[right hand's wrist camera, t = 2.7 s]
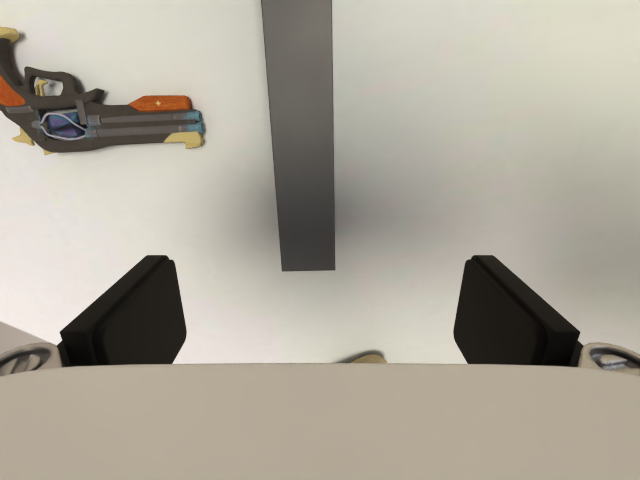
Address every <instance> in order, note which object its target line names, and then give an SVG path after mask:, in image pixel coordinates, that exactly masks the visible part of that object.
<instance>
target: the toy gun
mask: <svg viewBox="0 0 640 480" xmlns="http://www.w3.org/2000/svg"><path fill="white" fill-rule="evenodd" d="M18 38H19V34H18V32H17V30H16V29H13V28H6V27H0V110H1V111H2V112H3V113H4V115H5V116H6V117H7V118H9V119H10V120H12V121H13V122H15V123H16V124H17V125H19V126H20V131H21V134H20V136H17V137H14V138H12V139H13V140H14V141H16V142H22V143H27V144H29V145H33V146H34V145H35V144H34V142H33V140H35V142H36V143H37V144H38V145H39V146H40V147H42V148H43V150H44V154H45V155H47V154H51V153H56V152H57V153H61V152H81V151H90V150H95V149H99V148H103V147H106V146H110V145H125V144H144V143H172V142H185V145H186V149H190V148H194V147H199V146H202V144H203V137H202V135H201V134H203V133H204V126H203V123H202V122H198V121H201V113H200V111H197V110H195V109H192V107H191V101H190V99H189V97H187V96H143V97H141V98H139V99H137V100H135V101H133V102H132V103H130V104H128V105H102V104H99V103H98V102H99V101H100V99H101V98H102V96H103V94H104V90H101V89H98V88H97V89H94V90H92V91H89V92H86V93H82V94H81V93H80V91H79V86H78V83H77V81H76V80H75V78H74V77H73V76H72V75H71V74H68V73H65V72H47V71H42V70H38V69H35V68H31V67H25V69H24V70H25V82H24V85H22V84H21V82H20V81H19V80H18V78H17V77H16V75H15V74H14V72H13V71H12V69H11V67H10V63H9V57H8V47H9V44H10V43H12V42H14V41H16V40H17V39H18ZM36 77H42V78H46V79H50V80H56V81H62V82H63V91H62V93H61V95H60V96H44V91H43V85H44V84H48V82H47V81H45V80H41V79H39V81H38V83H37V85H36V91H35V88H34V82H35V78H36ZM39 89H40V96H39ZM35 92H36V93H35ZM73 108H77V111H78V112H72V113H64V114H60V113H47V112H46V110H63V109H73ZM47 115H49V119H48V116H47ZM51 131H52V132H54V133H56V134H57V135H59V136H54V135H52V132H51ZM60 136H61V137H60ZM53 137H55V138H61V139H66V140H74V141H62V140H57V139H55V138H53ZM84 137H86V138H84ZM81 138H84V139H81ZM77 139H81V140H77Z"/></svg>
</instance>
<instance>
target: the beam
mask: <svg viewBox="0 0 640 480" xmlns="http://www.w3.org/2000/svg"><path fill="white" fill-rule="evenodd" d="M261 4H262V17H263V30H264V43H265V56H266V69H267V82H268V95H269V108H270V121H271V134H272V147H273V160H274V173H275V186H276V199H277V212H278V225H279V238H280V251H281V264H282V271H321V270H335V214H334V136H333V59H332V0H261Z"/></svg>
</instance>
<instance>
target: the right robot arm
mask: <svg viewBox="0 0 640 480" xmlns="http://www.w3.org/2000/svg"><path fill="white" fill-rule="evenodd" d="M60 334H61V337H62V341H61V342H60V343H59V344H58V345H57V346H56V345H54V344H51V343H33V344H28V345H24V346H20V347H17V348H15V349H12V350H10V351H7V352H5V353H3V354H1V355H0V480H640V355H639V354H637V353H635V352H633V351H631V350H628V349H625V348H623V347H620V346H616V345H612V344H607V343H589V344H586V345H584V346H583V345H582V344H581V343H580V342H579V341H578V337H579V334H580V331H579V330H577V329H576V328H575V327H574V326H573V325H572V324H571V323H569V322H568V321H567V320H566V319H565V318H564V317H563V316H561V315H560V314H559V313H558V312H557V311H556V310H555V309H554V308H552V307H551V306H550V305H549V304H548V303H547V302H546V301H544V300H543V299H542V298H541V297H540V296H539V295H538V294H537V293H535V292H534V291H533V290H532V289H531V288H530V287H529V286H527V285H526V284H525V283H524V282H523V281H522V280H521V279H519V278H518V277H517V276H516V275H515V274H514V273H513V272H512V271H510V270H509V269H508V268H507V267H506V266H505V265H504V264H502V263H501V262H500V261H499V260H498V259H497V258H496V257H495V256H493V255H474V256H473V257H472V258H471V260H467V261H466V263H465V267H464V273H463V279H462V285H461V290H460V296H459V302H458V308H457V313H456V319H455V325H454V339H455V342H456V344H457V345H458V347H459V349H460V351H461V352H462V354H463V356H464V358H465V359H466V361H467V363H468V364H400V363H230V364H172V363H173V361H174V359H175V358H176V356H177V354H178V352H179V351H180V349H181V347H182V345H183V344H184V342H185V339H186V325H185V319H184V313H183V308H182V302H181V296H180V290H179V285H178V279H177V273H176V267H175V263H174V261H173V260H169V258H168V257H167V256H166V255H147V256H145V257H144V258H143V259H142V260H141V261H140V262H139V263H138V264H136V265H135V266H134V267H133V268H132V269H131V270H130V271H128V272H127V273H126V274H125V275H124V276H123V277H122V278H121V279H119V280H118V281H117V282H116V283H115V284H114V285H113V286H111V287H110V288H109V289H108V290H107V291H106V292H105V293H103V294H102V295H101V296H100V297H99V298H98V299H97V300H96V301H94V302H93V303H92V304H91V305H90V306H89V307H88V308H86V309H85V310H84V311H83V312H82V313H81V314H80V315H79V316H77V317H76V318H75V319H74V320H73V321H72V322H71V323H69V324H68V325H67V326H66V327H65V328H64V329H63V330H61V331H60Z"/></svg>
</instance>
